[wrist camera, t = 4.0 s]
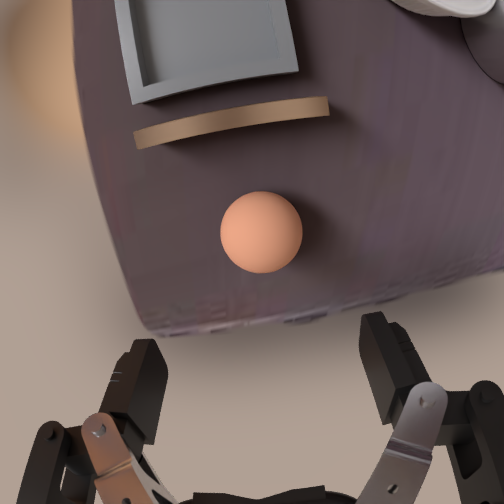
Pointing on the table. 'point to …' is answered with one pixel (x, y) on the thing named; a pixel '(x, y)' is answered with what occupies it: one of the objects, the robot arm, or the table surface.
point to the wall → (232, 119)
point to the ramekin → (448, 7)
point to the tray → (201, 44)
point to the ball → (261, 232)
